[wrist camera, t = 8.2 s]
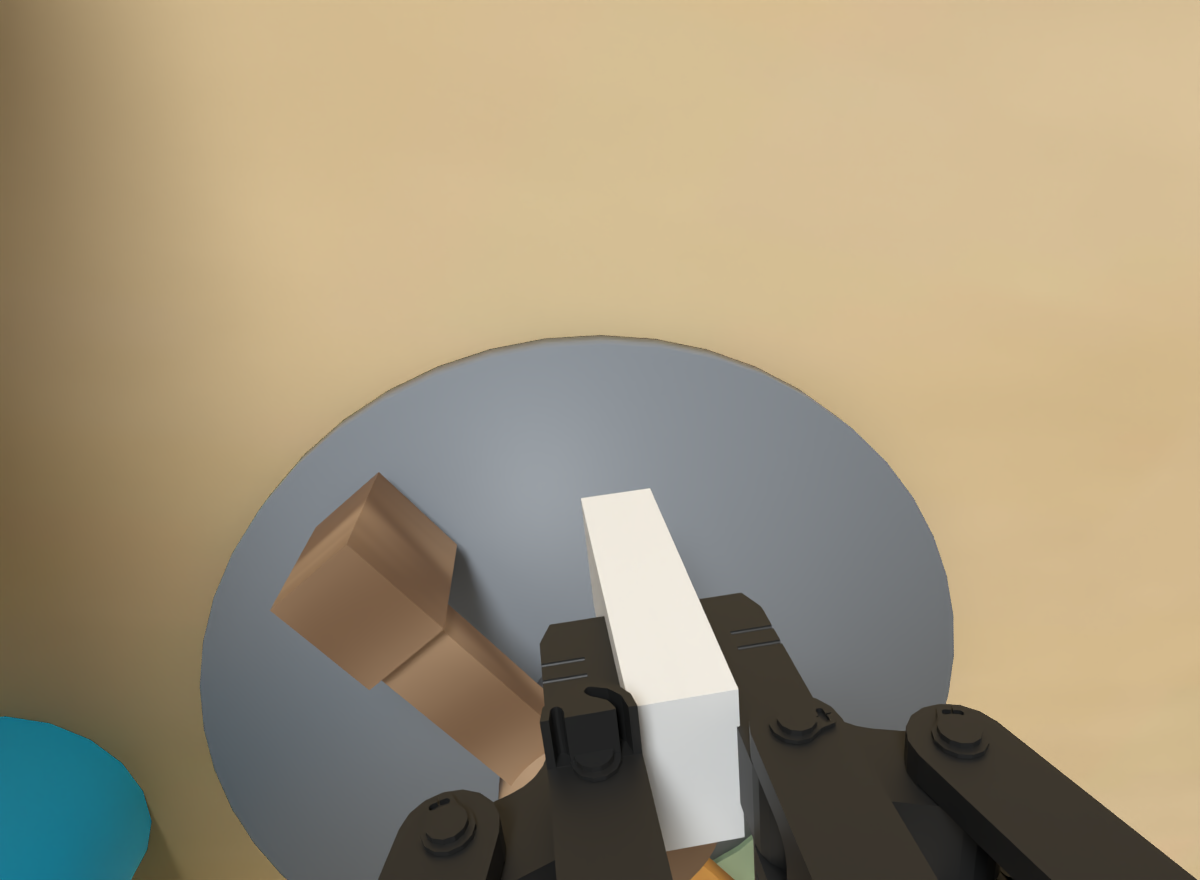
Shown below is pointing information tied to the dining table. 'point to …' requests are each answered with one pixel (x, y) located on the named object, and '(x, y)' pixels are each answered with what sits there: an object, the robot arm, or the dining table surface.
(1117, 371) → the dining table surface
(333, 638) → the dial arm
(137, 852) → the mug
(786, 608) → the dial plate
